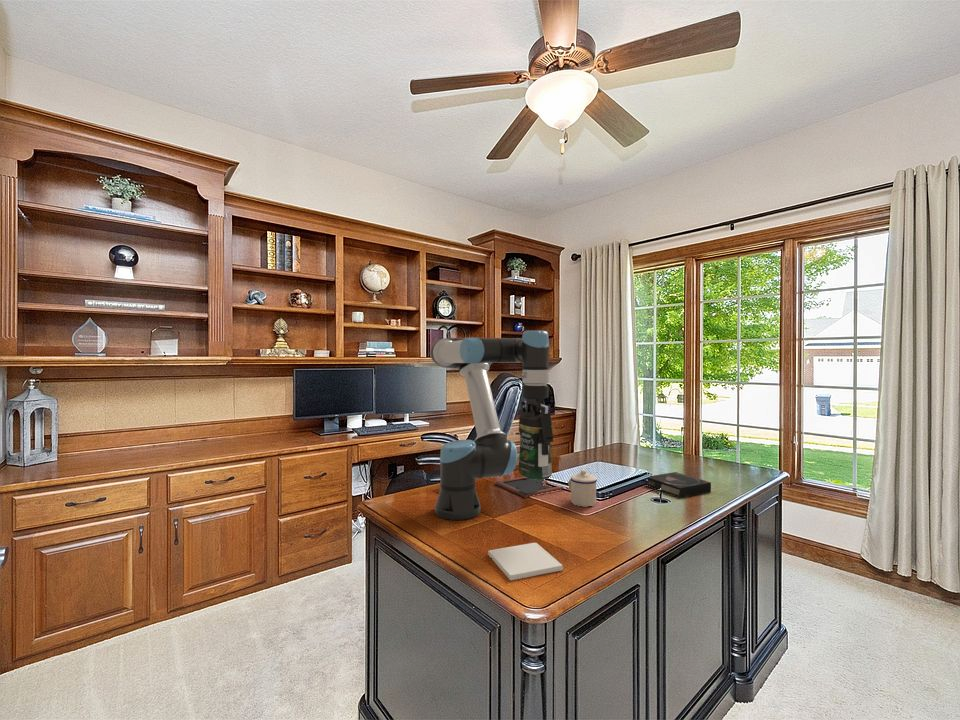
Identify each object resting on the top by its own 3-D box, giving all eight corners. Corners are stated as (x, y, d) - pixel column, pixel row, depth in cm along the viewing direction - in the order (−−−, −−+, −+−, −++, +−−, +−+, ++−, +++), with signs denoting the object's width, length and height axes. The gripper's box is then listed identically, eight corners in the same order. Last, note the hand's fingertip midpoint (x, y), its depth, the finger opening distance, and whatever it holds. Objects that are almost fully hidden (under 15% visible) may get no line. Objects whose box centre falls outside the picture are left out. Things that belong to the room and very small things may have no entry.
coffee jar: (513, 473, 130) (514, 410, 130) (535, 470, 134) (535, 409, 134) (534, 482, 122) (535, 415, 121) (556, 478, 126) (556, 413, 126)
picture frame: (525, 499, 162) (576, 488, 175) (525, 494, 162) (576, 483, 175) (495, 485, 179) (543, 476, 192) (495, 481, 179) (543, 472, 192)
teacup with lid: (602, 504, 155) (602, 471, 155) (583, 509, 150) (583, 475, 150) (578, 495, 165) (578, 464, 165) (559, 499, 161) (559, 467, 161)
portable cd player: (644, 486, 177) (644, 476, 177) (675, 481, 184) (675, 472, 184) (678, 499, 162) (678, 488, 162) (710, 492, 169) (710, 482, 169)
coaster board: (488, 555, 117) (488, 550, 117) (535, 546, 121) (535, 542, 121) (510, 580, 103) (510, 575, 103) (562, 570, 108) (562, 565, 108)
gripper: (507, 381, 137) (507, 454, 137) (542, 387, 116) (541, 473, 117) (529, 381, 139) (529, 452, 140) (566, 387, 119) (566, 470, 119)
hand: (534, 461), depth 128 cm, fingers closed on coffee jar, 9 cm apart
